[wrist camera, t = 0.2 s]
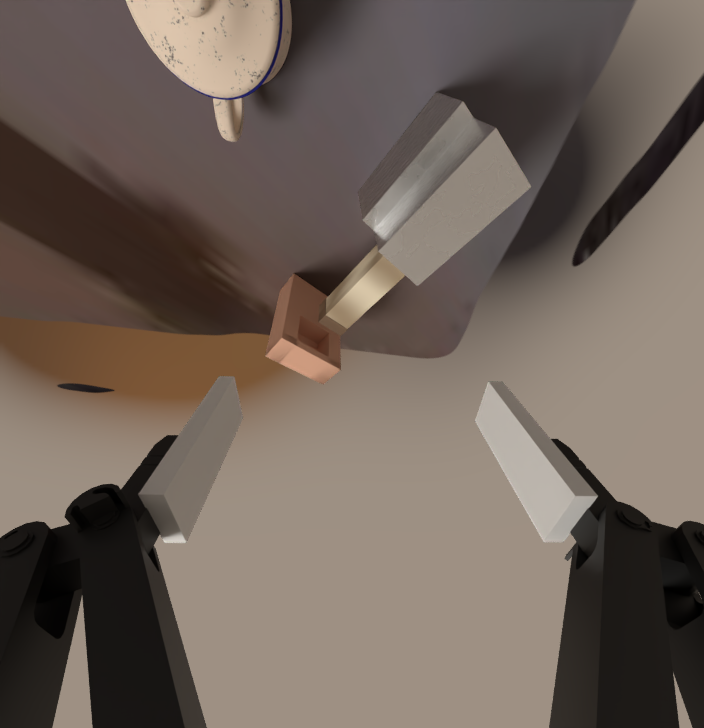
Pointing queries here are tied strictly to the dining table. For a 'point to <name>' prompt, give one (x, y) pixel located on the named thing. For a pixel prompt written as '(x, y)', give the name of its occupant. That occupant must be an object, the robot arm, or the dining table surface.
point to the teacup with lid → (218, 47)
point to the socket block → (303, 333)
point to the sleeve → (439, 187)
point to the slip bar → (358, 292)
